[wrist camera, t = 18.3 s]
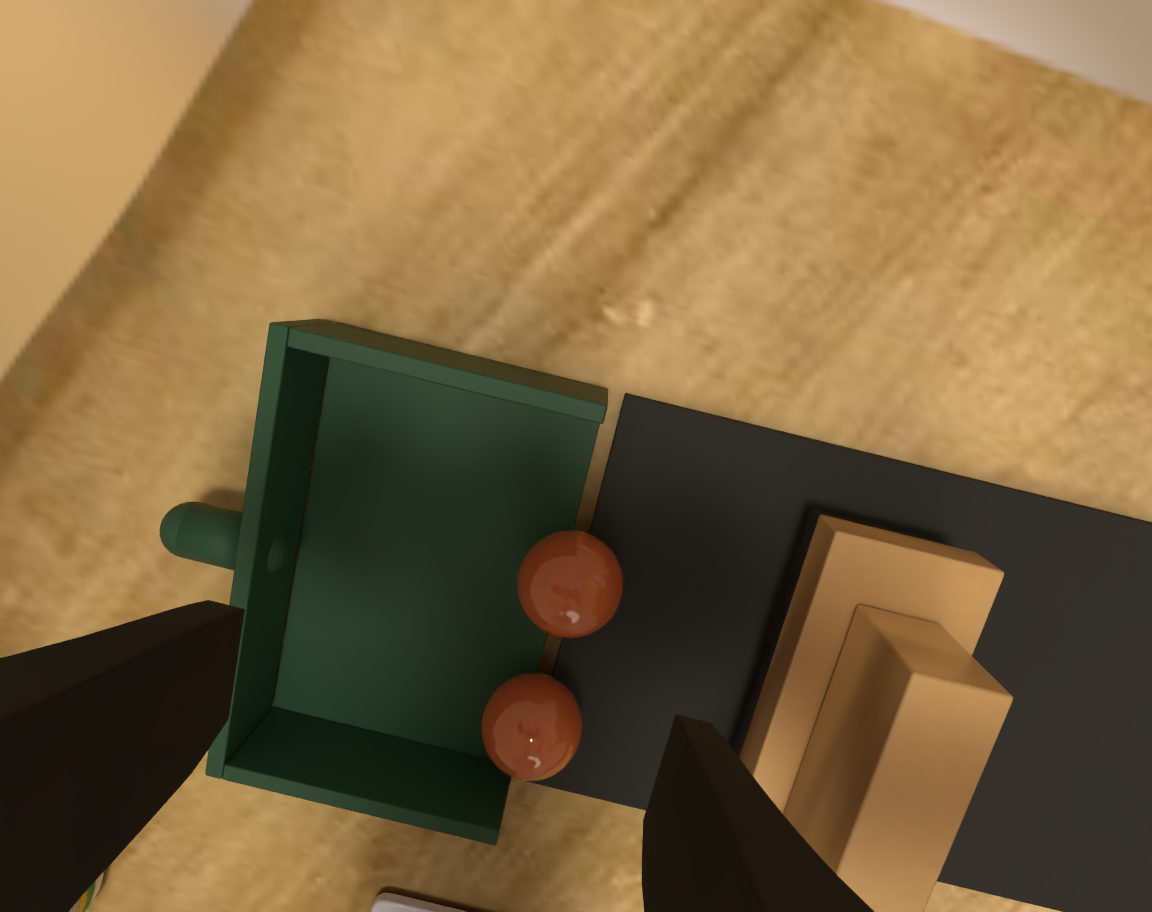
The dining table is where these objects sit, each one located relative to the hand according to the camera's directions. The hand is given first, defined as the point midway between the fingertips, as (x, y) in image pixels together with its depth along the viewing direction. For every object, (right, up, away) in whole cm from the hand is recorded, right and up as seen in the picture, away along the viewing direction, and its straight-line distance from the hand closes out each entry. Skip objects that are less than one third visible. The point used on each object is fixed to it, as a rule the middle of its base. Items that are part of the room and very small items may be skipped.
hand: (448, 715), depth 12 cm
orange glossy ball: (+2, +1, +9) cm, 9 cm away
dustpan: (-4, +1, +11) cm, 11 cm away
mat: (+15, -3, +11) cm, 19 cm away
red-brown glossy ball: (+1, -4, +10) cm, 10 cm away
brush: (+10, -2, +10) cm, 14 cm away
